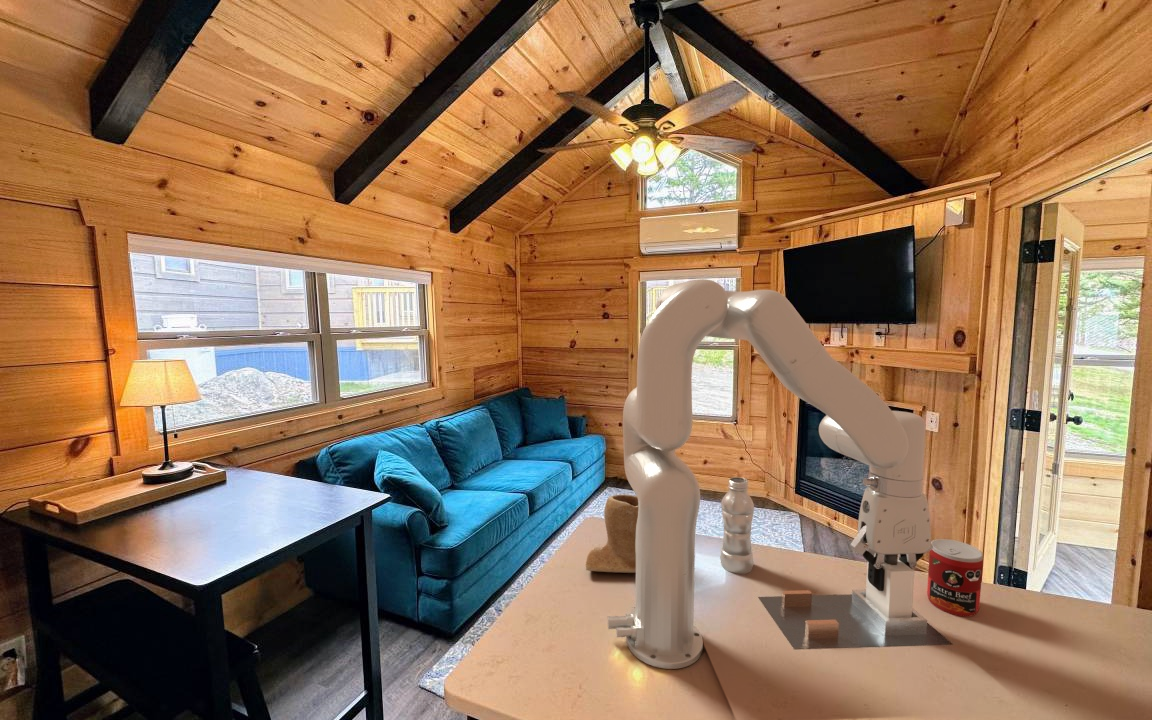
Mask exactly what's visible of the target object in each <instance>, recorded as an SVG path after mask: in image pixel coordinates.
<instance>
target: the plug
mask: <svg viewBox="0 0 1152 720" xmlns="http://www.w3.org/2000/svg"><path fill="white" fill-rule="evenodd" d="M875 555H876V553H875ZM875 555H874V557H875ZM866 562H867V565H866V584H865V585H866V586H865V589H866V599H867V600H868V601H869V602H870V603H872V604H873V605H874V606H875V607H876V608H877V609H878V610H879V611H880V612H881V613H882V614H883V615H884V616H885V617H887V618H909V617H912V608H913V601H914V600H913V598H914V589H915V587H914V585H915V570H914V568H912V569H911V568H910V567H908V566H907V565H906V564H904V563H903V562H902V561H900V560H899V556H898V554H893V555H885V556H884V560H883V564H882V568H883V569H884V570H885V574H884V590H883V591H879V590H878V589H876V588H875V587H874V586H873V585H872V584H871V583H870V582H869V580H868V563H869V562H868V561H866Z"/></svg>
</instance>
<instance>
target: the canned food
mask: <svg viewBox="0 0 1152 720" xmlns="http://www.w3.org/2000/svg"><path fill="white" fill-rule="evenodd" d="M931 544H932V545H933V549H932V550H930V551H929V552H928V553H929V555H928V574H927V589H926V590H927V591H926V593H927V598H928V601H929V602H930V604H932V605H933V606H934V607H935V608H936V609H938V610H941V611H943V612H946V613H948V614H951V615H954V616H959V617H972V616H975V615H977V613H978V612H979V609H980V602H981V592H982V591H981V590H982V580H983V579H982V577H983V569H984V568H983V567H984V565H983V564H984V553H983V552H982V551H981V550H980V549H978V548H977V547H975V546H974V545H971V544H969V543H965V542H962V541H958V540H955V539H947V538H937V539H933V540H931Z"/></svg>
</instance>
